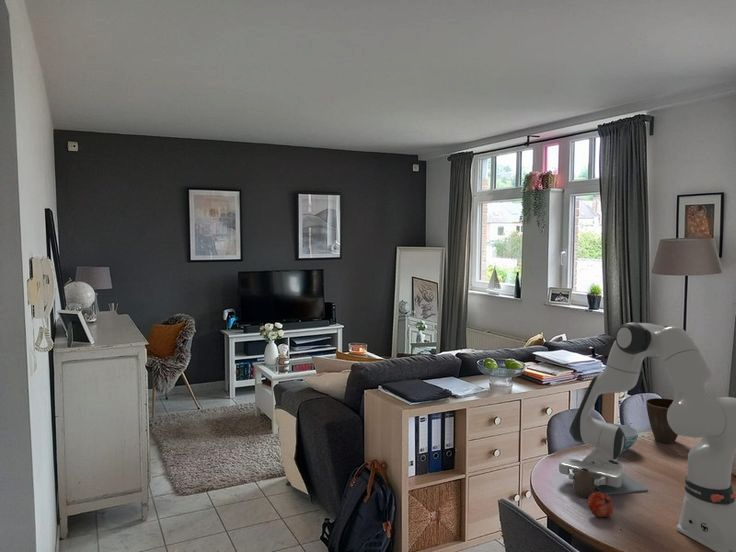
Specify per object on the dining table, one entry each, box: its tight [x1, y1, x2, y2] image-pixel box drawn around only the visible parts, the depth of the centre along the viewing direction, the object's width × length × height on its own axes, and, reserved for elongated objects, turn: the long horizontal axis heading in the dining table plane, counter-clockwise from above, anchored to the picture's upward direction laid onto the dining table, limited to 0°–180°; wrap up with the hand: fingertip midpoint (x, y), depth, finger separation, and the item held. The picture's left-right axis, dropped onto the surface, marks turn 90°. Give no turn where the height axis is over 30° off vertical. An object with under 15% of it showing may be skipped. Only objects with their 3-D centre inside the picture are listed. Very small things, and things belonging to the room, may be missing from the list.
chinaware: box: [611, 423, 639, 452], centre depth 235 cm, size 15×15×8 cm
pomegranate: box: [587, 491, 615, 518], centre depth 180 cm, size 7×7×10 cm
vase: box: [572, 468, 596, 499], centre depth 194 cm, size 7×7×9 cm
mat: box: [595, 471, 649, 496], centre depth 206 cm, size 22×16×1 cm
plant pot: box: [645, 397, 679, 445], centre depth 244 cm, size 15×15×16 cm
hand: (583, 480), depth 193 cm, fingers open, 7 cm apart
